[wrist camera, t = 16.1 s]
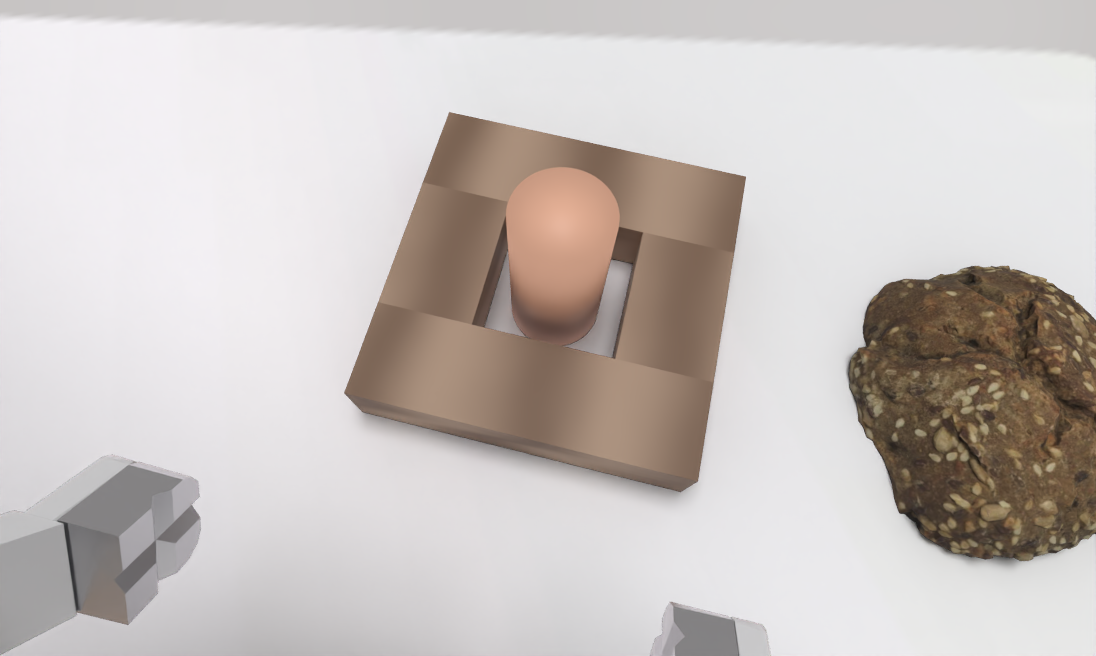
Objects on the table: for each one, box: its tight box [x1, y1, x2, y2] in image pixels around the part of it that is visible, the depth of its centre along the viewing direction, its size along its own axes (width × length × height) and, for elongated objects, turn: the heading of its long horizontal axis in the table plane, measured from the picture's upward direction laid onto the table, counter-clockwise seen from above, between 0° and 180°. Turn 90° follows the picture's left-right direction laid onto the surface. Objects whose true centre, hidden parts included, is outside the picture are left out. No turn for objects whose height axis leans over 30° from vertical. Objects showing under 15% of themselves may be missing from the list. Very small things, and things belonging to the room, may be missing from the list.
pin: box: [506, 167, 620, 346], centre depth 27 cm, size 4×4×8 cm
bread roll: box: [849, 266, 1096, 561], centre depth 27 cm, size 13×12×5 cm
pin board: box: [344, 112, 746, 492], centre depth 29 cm, size 14×14×3 cm
